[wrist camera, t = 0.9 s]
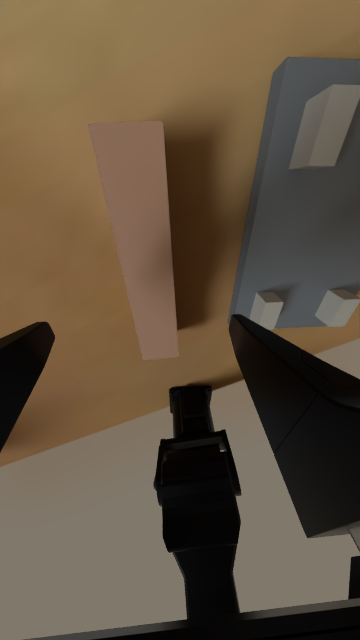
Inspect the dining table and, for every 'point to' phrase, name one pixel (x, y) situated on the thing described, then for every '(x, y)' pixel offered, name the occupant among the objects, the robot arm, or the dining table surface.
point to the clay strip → (141, 226)
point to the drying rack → (305, 201)
